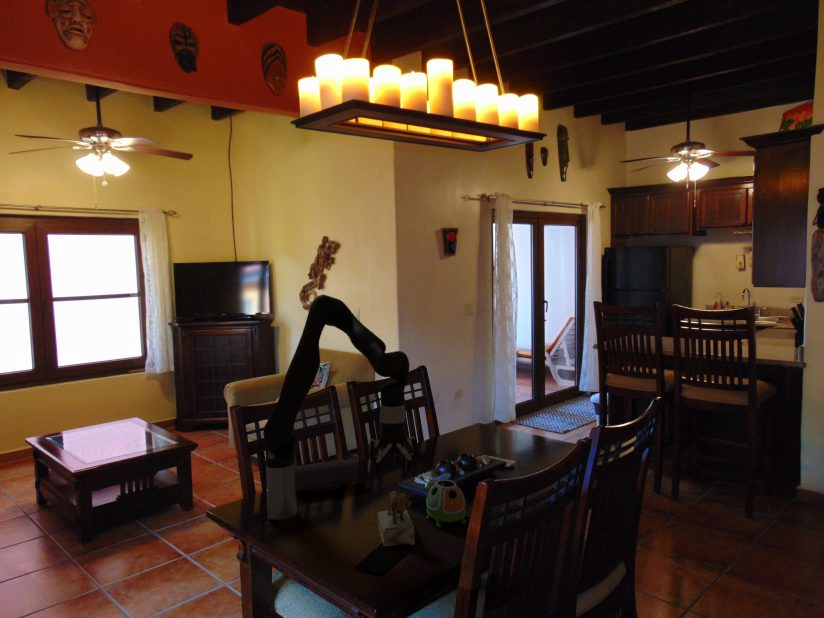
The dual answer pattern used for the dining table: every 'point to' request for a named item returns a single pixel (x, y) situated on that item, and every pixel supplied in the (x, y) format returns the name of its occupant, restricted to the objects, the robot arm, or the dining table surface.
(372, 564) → the cell phone
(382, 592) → the dining table surface
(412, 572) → the dining table surface
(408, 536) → the plinth
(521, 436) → the dining table surface
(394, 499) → the lion figurine
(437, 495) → the turtle holder
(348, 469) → the bluetooth speaker
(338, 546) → the dining table surface
